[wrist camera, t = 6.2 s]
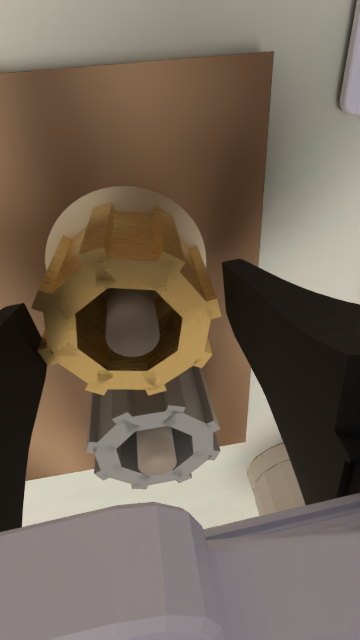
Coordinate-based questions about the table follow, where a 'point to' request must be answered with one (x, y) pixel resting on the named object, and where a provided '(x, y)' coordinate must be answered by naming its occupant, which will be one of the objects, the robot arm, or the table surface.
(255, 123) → the board
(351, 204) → the table surface
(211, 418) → the grey gear
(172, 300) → the brass gear
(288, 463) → the cup
